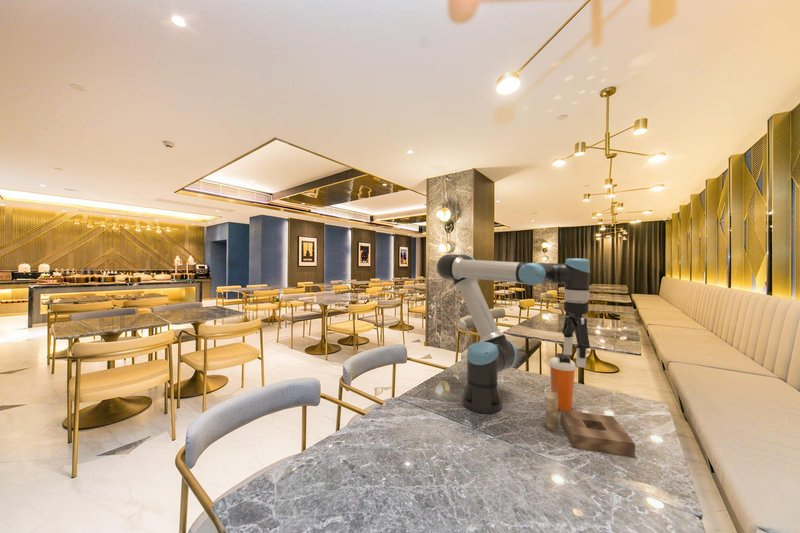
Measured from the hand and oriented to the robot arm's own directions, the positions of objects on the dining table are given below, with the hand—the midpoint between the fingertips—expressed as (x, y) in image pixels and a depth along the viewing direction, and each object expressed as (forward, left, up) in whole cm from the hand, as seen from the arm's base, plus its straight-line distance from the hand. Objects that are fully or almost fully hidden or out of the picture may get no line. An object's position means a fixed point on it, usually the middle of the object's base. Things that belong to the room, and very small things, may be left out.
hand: (573, 360), depth 108 cm
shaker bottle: (-2, +9, -21) cm, 23 cm away
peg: (-9, -9, -21) cm, 25 cm away
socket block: (+3, -11, -21) cm, 24 cm away
